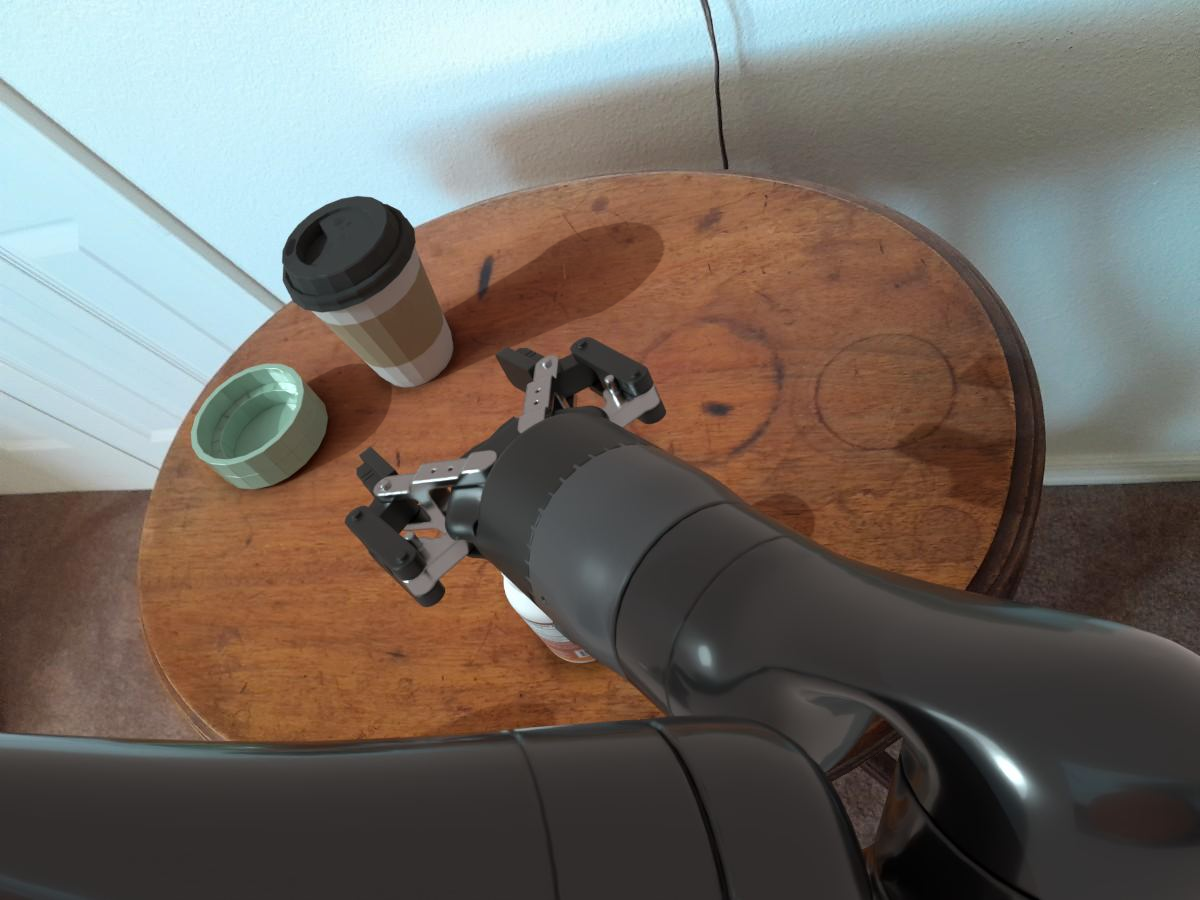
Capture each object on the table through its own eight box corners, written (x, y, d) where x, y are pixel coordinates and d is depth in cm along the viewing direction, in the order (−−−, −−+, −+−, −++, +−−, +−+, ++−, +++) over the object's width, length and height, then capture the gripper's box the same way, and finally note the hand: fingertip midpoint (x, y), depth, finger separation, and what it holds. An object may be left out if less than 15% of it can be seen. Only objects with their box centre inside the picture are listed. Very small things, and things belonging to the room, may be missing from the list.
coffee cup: (368, 326, 83) (281, 206, 72) (478, 299, 81) (407, 171, 69) (354, 418, 77) (256, 303, 65) (473, 392, 75) (393, 268, 63)
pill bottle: (569, 570, 62) (515, 492, 53) (644, 597, 59) (601, 519, 50) (529, 648, 59) (466, 579, 51) (605, 679, 57) (553, 612, 48)
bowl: (299, 496, 73) (269, 468, 70) (202, 487, 77) (169, 460, 74) (348, 395, 79) (322, 364, 75) (256, 391, 83) (227, 362, 79)
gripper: (730, 350, 31) (517, 274, 44) (414, 608, 27) (280, 444, 40) (782, 494, 36) (575, 387, 48) (516, 734, 32) (366, 550, 44)
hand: (442, 413), depth 44 cm, fingers open, 8 cm apart
